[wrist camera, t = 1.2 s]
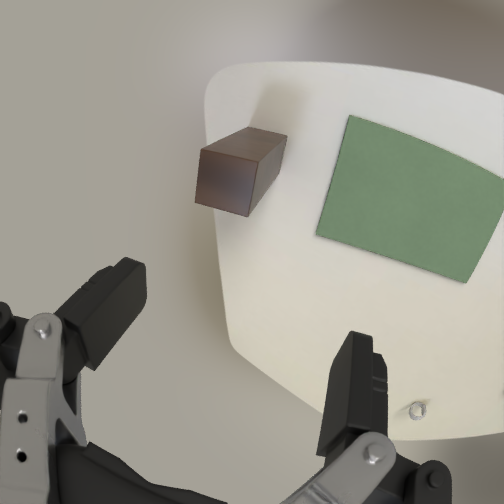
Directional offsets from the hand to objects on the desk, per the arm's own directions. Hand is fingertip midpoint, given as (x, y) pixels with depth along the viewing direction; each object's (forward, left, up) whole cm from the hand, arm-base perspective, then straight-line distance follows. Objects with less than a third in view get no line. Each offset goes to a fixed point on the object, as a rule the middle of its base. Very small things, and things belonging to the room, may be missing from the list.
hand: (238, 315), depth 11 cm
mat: (+3, +15, -30) cm, 34 cm away
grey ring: (+41, +36, -30) cm, 62 cm away
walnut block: (+2, -6, -23) cm, 24 cm away
